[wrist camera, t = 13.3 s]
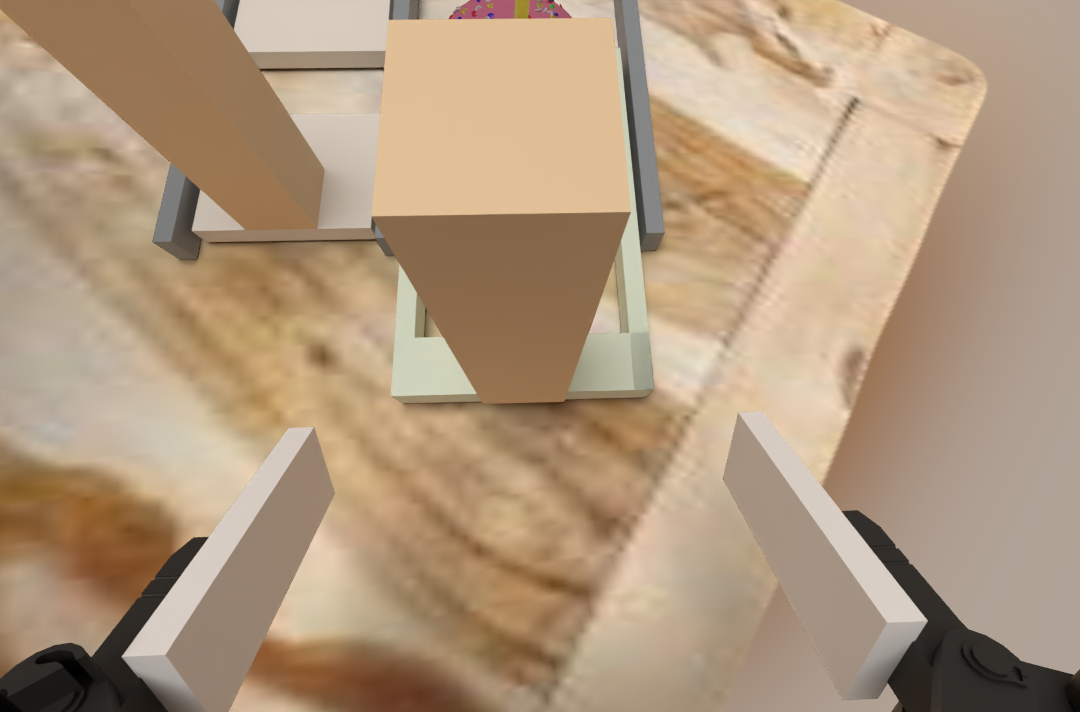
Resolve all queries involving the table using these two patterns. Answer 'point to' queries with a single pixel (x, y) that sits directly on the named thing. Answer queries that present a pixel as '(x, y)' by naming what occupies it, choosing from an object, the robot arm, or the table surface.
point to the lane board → (185, 244)
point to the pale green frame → (509, 211)
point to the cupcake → (509, 10)
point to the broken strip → (232, 102)
